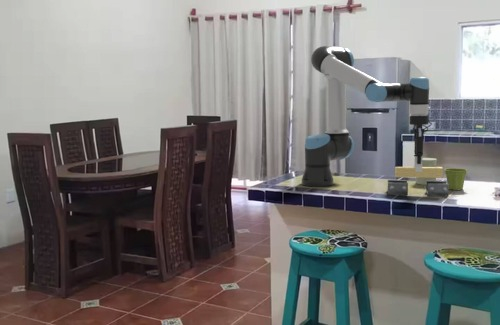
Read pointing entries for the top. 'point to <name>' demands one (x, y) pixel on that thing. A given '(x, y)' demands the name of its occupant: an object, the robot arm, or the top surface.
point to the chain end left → (397, 187)
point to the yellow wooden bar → (426, 172)
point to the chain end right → (437, 188)
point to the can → (427, 163)
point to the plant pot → (455, 178)
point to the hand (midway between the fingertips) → (418, 170)
